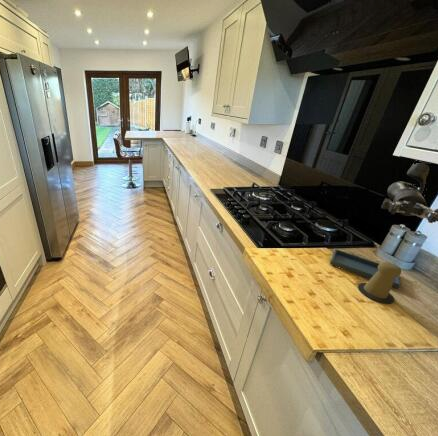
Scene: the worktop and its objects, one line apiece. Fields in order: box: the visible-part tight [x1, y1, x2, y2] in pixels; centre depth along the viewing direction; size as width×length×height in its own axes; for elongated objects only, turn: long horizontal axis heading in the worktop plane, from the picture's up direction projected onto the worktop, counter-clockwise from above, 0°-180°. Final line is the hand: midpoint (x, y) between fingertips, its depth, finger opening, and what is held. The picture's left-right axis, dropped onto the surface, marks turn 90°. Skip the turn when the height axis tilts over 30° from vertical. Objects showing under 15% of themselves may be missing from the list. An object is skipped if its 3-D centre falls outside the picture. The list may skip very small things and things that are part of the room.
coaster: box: [357, 282, 395, 305], centre depth 77 cm, size 9×9×1 cm
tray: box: [329, 248, 401, 290], centre depth 89 cm, size 19×11×2 cm, turn 48°
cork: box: [364, 261, 402, 299], centre depth 75 cm, size 6×6×11 cm
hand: (412, 215), depth 74 cm, fingers open, 8 cm apart
